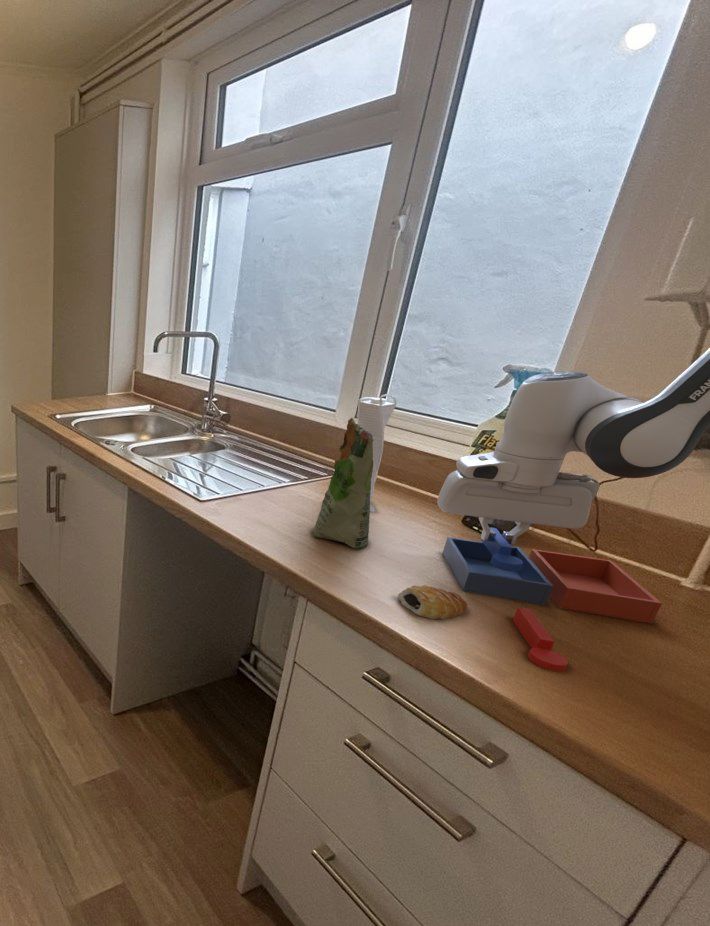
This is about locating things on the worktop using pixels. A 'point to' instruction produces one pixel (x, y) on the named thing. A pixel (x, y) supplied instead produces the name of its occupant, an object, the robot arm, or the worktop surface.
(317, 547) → the worktop surface
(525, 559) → the blue bin
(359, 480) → the pouch
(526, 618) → the red spoon
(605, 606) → the red bin
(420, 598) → the pastry
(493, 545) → the blue spoon
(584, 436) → the robot arm
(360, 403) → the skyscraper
